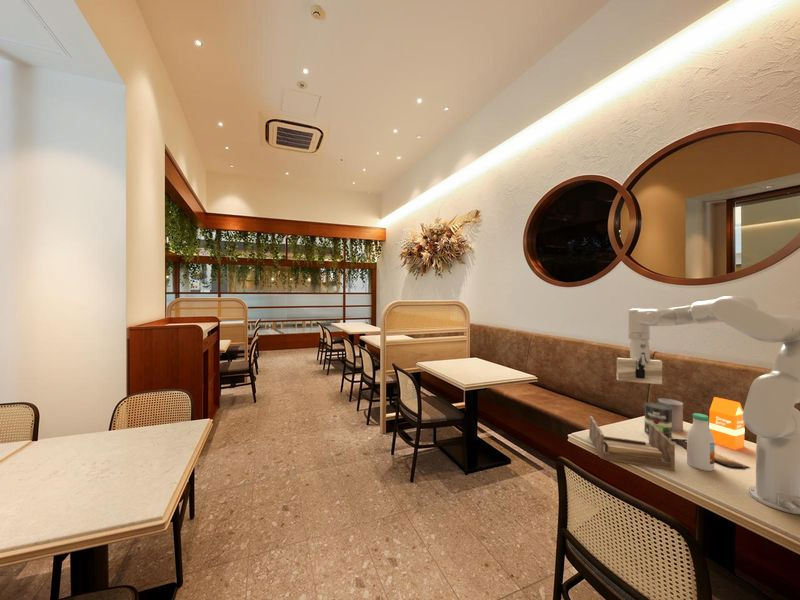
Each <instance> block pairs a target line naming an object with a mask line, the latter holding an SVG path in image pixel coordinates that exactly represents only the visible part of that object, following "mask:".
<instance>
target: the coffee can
mask: <svg viewBox="0 0 800 600" xmlns="http://www.w3.org/2000/svg"><path fill="white" fill-rule="evenodd" d="M672 410H673V409H672V407H670V406H667V405H664V404H660V403H658V402H645V403H644V430H643V431H644V433H645V435H647V436H649V423H652V424H653V425H654V426H655V427H656V428H658V429H659V430H660V431H661V432H662V433H663V434H664V435H665V436H666V437H667V438H668V439H669V440H671V439H673V436H672V435H673V434H672V433H673V431H672Z"/></svg>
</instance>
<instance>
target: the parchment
mask: <svg viewBox="0 0 800 600" xmlns="http://www.w3.org/2000/svg"><path fill="white" fill-rule="evenodd" d="M670 441H671V442H674V444H676V445H679V446H680V447H683V449H685V450H687V438H686V439H681V438H671V439H670ZM715 461H716V462H718V463H720V464H723V465H725V466H727V467H728V468H732V467H735V468H736V467H738V468H739V467H740V468H742V469H744V470H746V468H749V466H748V465H746V464H744V463H741V462H739V461H736V460H735V459H733V458H731V457H727V456H725V455H723V454H721V453H718V452H716V451H715V455H714V462H715Z"/></svg>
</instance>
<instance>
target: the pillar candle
mask: <svg viewBox="0 0 800 600" xmlns="http://www.w3.org/2000/svg"><path fill="white" fill-rule="evenodd" d="M657 403H660V404H664V405H667V406H670V407H672V409H673V410H672V432H676V433H677V432H679V433H680V432H681V433H682V432H683V429H684V402H682V401H680V400H677V399H673V398H666V397H665V398H664V397H660V398H657Z"/></svg>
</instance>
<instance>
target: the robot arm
mask: <svg viewBox="0 0 800 600" xmlns="http://www.w3.org/2000/svg"><path fill="white" fill-rule="evenodd" d="M714 323H725V324H726V325H728V326H729V327H731V328H733V329H735V330H737V331H739V332H740V333H742V334H744V335H746V336H748V337H749V338H752V339H754V340H756V341H759V342H762V343H781V345H780V348H779V350H778V352H777V354H776V356H775V358H774V363H773V365H772V366H773V367H772V369H771V371H770V373H765V374H762V375H759V376H758V377H756V378H755V379H754V380H753V381H752V383H751V385H750V386H749V391H748V394H747V398H746V400H745V404H744V407H743V422H744V427H746V428H747V430H749V431H750V432H751V433H752V434H754V435H756V447H755V448H756V449H755V451H756V452H755V455H756V456H755V486H752V487H749V489H748V494H749V495H750V496H751V498H753V499H754V500H756V501H757V502H759V503H761V504H763V505H765V506H767V507H770V508H772V509H775V510H777V511H782V512H785V513H789V514H794V515H800V410H798V409H797V408H796V407H795V404H800V317H797V316H793V315H789V314H774V315H773V314H770V313H766V312H765V311H762V310H760V309H759V306H758V303H757V302H756V300H754V299H752V298H750V297H749V296H744V295H725V296H721V297H718V298H716V299H708V300H702V301H701V300H699V301H695V302H692V304H690V305H685V306H684V305H683V306H678V307H677V306H676V307H669V308H664V307H663V308H630V309H629V311H628V340H630V341H629V342H630V343H629V357H630V358H632V359H634V360H635V361H636V362H637V369H636V378H643V379H644V378H645V365H646V362H647V363H649V362H650V360H651V352H650V351H651V349H650V343H649V342H650V340H651V338H650V335H651V333H650V331H651V327H669V326H670V327H671V326H682V325H693V324H694V325H695V324H697V325H700V324H701V325H704V324H705V325H706V324H714ZM645 360H646V362H645ZM639 361H641V362H639ZM639 363H640V364H639Z"/></svg>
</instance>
